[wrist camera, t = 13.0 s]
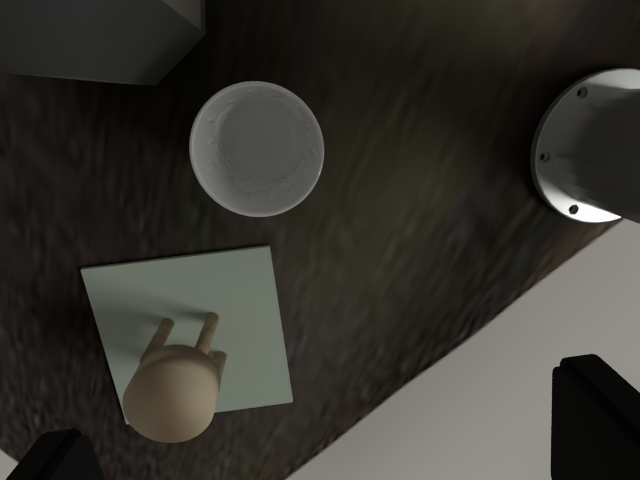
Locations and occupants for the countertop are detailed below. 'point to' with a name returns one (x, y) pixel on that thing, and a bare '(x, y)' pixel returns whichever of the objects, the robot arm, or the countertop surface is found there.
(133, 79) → the liquor
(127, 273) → the sage mat
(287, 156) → the white cup
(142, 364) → the round tan stool
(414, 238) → the countertop surface
